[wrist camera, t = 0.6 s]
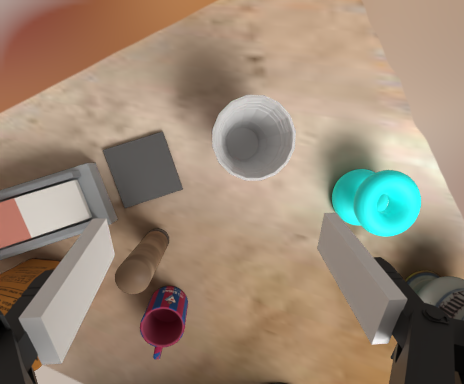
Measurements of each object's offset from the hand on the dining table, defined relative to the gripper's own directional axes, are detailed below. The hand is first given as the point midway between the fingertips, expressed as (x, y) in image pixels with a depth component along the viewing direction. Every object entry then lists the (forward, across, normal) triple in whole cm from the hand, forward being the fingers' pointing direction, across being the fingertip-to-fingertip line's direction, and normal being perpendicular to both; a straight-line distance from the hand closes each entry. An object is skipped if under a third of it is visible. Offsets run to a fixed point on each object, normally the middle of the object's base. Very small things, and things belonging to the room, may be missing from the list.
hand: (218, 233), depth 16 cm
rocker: (+21, +27, +11) cm, 37 cm away
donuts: (+28, -26, +12) cm, 39 cm away
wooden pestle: (+24, +10, +18) cm, 32 cm away
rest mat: (+28, +12, +7) cm, 32 cm away
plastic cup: (+30, -5, +3) cm, 31 cm away
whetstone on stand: (+26, +28, +13) cm, 40 cm away
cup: (+20, +9, +31) cm, 38 cm away
